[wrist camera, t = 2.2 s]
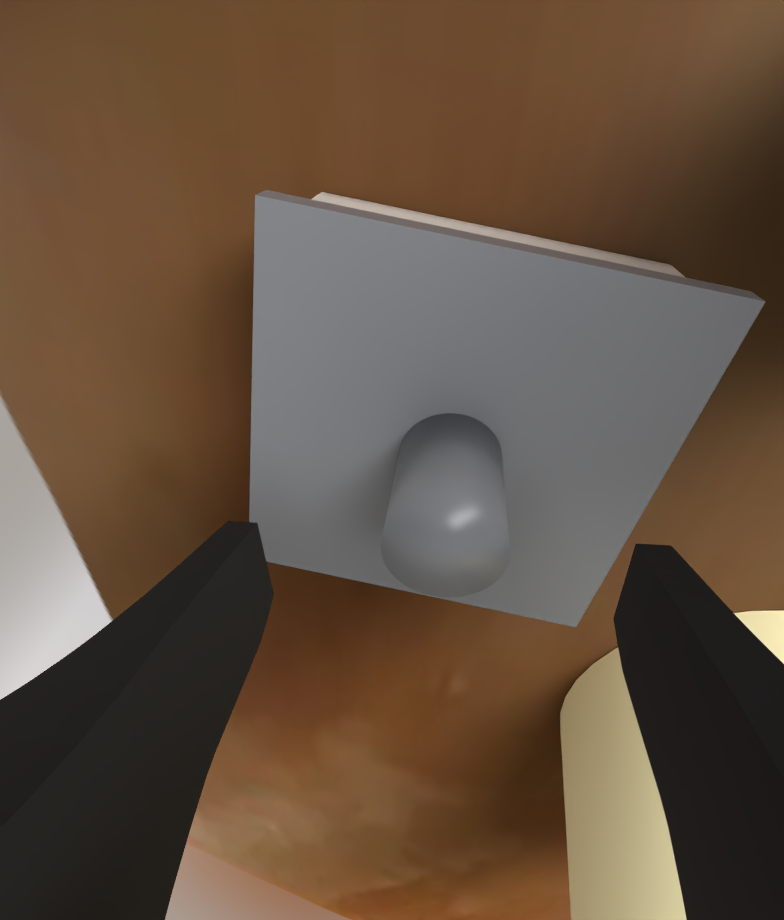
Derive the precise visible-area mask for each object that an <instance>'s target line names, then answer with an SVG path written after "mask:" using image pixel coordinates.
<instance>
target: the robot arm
mask: <svg viewBox="0 0 784 920" xmlns="http://www.w3.org/2000/svg"><path fill="white" fill-rule="evenodd" d="M273 594H274V593H273V589H272V585H271V580H270V576H269V571H268V567H267V563H266V558H265V554H264V549H263V545H262V541H261V536H260V532H259V527H258V523H253V522H235V521H228V522H227V523H226V524H224V525H223V526H222V527H221V528H220V529H219V530H217V531H216V532H215V533H214V534H213V535H212V536H211V537H210V538H209V539H207V540H206V541H205V542H204V543H203V544H202V545H201V546H200V547H199V548H197V549H196V550H195V551H194V552H193V553H192V554H191V555H190V556H189V557H187V558H186V559H185V560H184V561H183V562H182V563H181V564H180V565H178V566H177V567H176V568H175V569H174V570H173V571H172V572H171V573H169V574H168V575H167V576H166V577H165V578H164V579H162V580H161V581H160V582H159V583H158V584H157V585H156V586H154V587H153V588H152V589H151V590H150V591H149V592H148V593H146V594H145V595H144V596H143V597H142V598H140V599H139V600H138V601H137V602H135V603H134V604H133V605H132V606H130V607H129V608H128V609H127V610H125V611H124V612H123V613H122V614H120V615H119V616H118V617H117V618H116V619H114V620H113V621H112V622H111V623H109V624H108V625H107V626H106V627H104V628H103V629H102V630H101V631H99V632H98V633H97V634H96V635H94V636H93V637H92V638H90V639H89V640H88V641H87V642H85V643H84V644H82V645H81V646H80V647H78V648H77V649H75V650H74V651H73V652H71V653H70V654H69V655H67V656H66V657H64V658H63V659H61V660H60V661H59V662H57V663H56V664H54V665H53V666H51V667H50V668H48V669H47V670H46V671H44V672H43V673H41V674H40V675H38V676H37V677H35V678H34V679H33V680H31V681H30V682H28V683H26V684H25V685H23V686H22V687H20V688H19V689H17V690H15V691H14V692H12V693H11V694H9V695H7V696H6V697H4V698H3V699H1V700H0V920H165V916H166V913H167V909H168V905H169V901H170V897H171V894H172V890H173V887H174V883H175V880H176V876H177V872H178V869H179V865H180V862H181V859H182V855H183V852H184V848H185V845H186V842H187V838H188V835H189V831H190V828H191V825H192V821H193V818H194V815H195V812H196V808H197V805H198V802H199V799H200V796H201V792H202V789H203V786H204V783H205V779H206V776H207V773H208V771H209V768H210V765H211V762H212V760H213V757H214V754H215V752H216V749H217V747H218V744H219V742H220V739H221V737H222V734H223V732H224V730H225V727H226V725H227V722H228V720H229V718H230V715H231V713H232V710H233V708H234V706H235V703H236V701H237V698H238V696H239V694H240V691H241V689H242V686H243V684H244V681H245V679H246V677H247V674H248V672H249V669H250V667H251V664H252V662H253V659H254V657H255V654H256V652H257V649H258V647H259V644H260V642H261V639H262V635H263V632H264V628H265V625H266V621H267V618H268V614H269V610H270V606H271V602H272V598H273ZM614 624H615V630H616V637H617V643H618V649H619V654H620V660H621V665H622V671H623V674H624V678H625V681H626V685H627V688H628V692H629V695H630V698H631V702H632V705H633V709H634V712H635V715H636V719H637V722H638V725H639V728H640V732H641V735H642V738H643V742H644V745H645V748H646V752H647V755H648V758H649V761H650V765H651V768H652V771H653V775H654V778H655V781H656V785H657V788H658V791H659V794H660V798H661V802H662V806H663V809H664V813H665V817H666V821H667V825H668V829H669V834H670V838H671V843H672V848H673V853H674V858H675V863H676V868H677V873H678V877H679V882H680V887H681V892H682V897H683V903H684V908H685V914H686V919H687V920H784V664H783V663H782V662H781V661H780V660H779V659H778V658H777V657H776V656H775V655H774V654H773V653H772V652H771V651H770V650H769V649H768V648H767V647H766V646H765V645H764V644H763V643H762V642H761V641H760V640H759V639H758V638H757V637H756V636H755V635H754V634H753V633H752V632H751V631H750V630H749V629H748V628H747V627H746V626H745V625H744V623H743V622H742V621H741V620H740V619H739V618H738V617H737V616H736V615H735V614H734V613H733V612H732V611H731V610H730V609H729V608H728V607H727V606H726V605H725V604H724V602H723V601H722V600H721V599H720V598H719V597H718V596H717V595H716V594H715V593H714V592H713V591H712V590H711V588H710V587H709V586H708V585H707V584H706V583H705V582H704V581H703V580H702V579H701V578H700V576H699V575H698V574H697V573H696V572H695V571H694V570H693V569H692V568H691V567H690V566H689V564H688V563H687V562H686V561H685V560H684V559H683V558H682V557H681V556H680V555H679V554H678V553H677V552H676V550H675V549H674V548H673V547H672V546H668V545H650V544H636V545H635V548H634V551H633V555H632V558H631V562H630V565H629V568H628V572H627V575H626V578H625V582H624V585H623V588H622V592H621V595H620V598H619V602H618V605H617V609H616V612H615V615H614Z"/></svg>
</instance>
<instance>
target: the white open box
mask: <svg viewBox="0 0 784 920" xmlns="http://www.w3.org/2000/svg"><path fill="white" fill-rule="evenodd" d="M312 200H317V201H322V202H326V203H331V204H336V205H341V206H346V207H350V208H355V209H360V210H365V211H369V212H374V213H379V214H384V215H389V216H393V217H398V218H403V219H408V220H413V221H417V222H422V223H427V224H432V225H437V226H441V227H446V228H451V229H456V230H461V231H465V232H470V233H475V234H480V235H485V236H489V237H494V238H499V239H504V240H508V241H513V242H518V243H523V244H528V245H532V246H537V247H542V248H547V249H552V250H556V251H561V252H566V253H571V254H576V255H580V256H585V257H590V258H595V259H600V260H604V261H609V262H614V263H619V264H623V265H628V266H633V267H638V268H643V269H647V270H652V271H657V272H662V273H667V274H671V275H676V276H681V277H685V276H683V275H682V274H681V273H680V272H679V271H678V270H676V269H675V268H674V267H673V266H672V265H670V264H665V263H660V262H656V261H651V260H646V259H641V258H637V257H632V256H627V255H622V254H617V253H613V252H608V251H603V250H598V249H593V248H589V247H584V246H579V245H574V244H569V243H565V242H560V241H555V240H550V239H545V238H541V237H536V236H531V235H526V234H521V233H517V232H512V231H507V230H502V229H497V228H493V227H488V226H483V225H478V224H473V223H469V222H464V221H459V220H454V219H450V218H445V217H440V216H435V215H430V214H426V213H421V212H416V211H411V210H406V209H402V208H397V207H392V206H387V205H382V204H378V203H373V202H368V201H363V200H358V199H354V198H349V197H344V196H339V195H334V194H330V193H325V192H321V193H320V194H318V195H317V196H315V197H314V198H312Z"/></svg>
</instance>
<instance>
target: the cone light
mask: <svg viewBox="0 0 784 920" xmlns="http://www.w3.org/2000/svg"><path fill="white" fill-rule="evenodd" d="M734 614H735V615H736V616H737V617H738V618H739V619H740V620H741V621H742V622H743V623H744V625H745V626H746V627H747V628H748V629H749V630H750V631H751V632H752V633H753V634H754V635H755V636H756V637H757V638H758V639H759V640H760V641H761V642H762V643H763V644H764V645H765V646H766V647H767V648H768V649H769V650H770V651H771V652H772V653H773V654H774V655H775V656H776V657H777V658H778V659H779V660H780V661H781V662H782V663H783V664H784V610H781V611H747V612H739V613H734ZM560 731H561V749H562V766H563V784H564V801H565V819H566V836H567V853H568V871H569V888H570V906H571V920H687V919H686V914H685V908H684V903H683V897H682V892H681V887H680V882H679V877H678V873H677V868H676V863H675V858H674V853H673V848H672V843H671V838H670V834H669V829H668V825H667V821H666V817H665V813H664V809H663V806H662V802H661V798H660V794H659V791H658V788H657V785H656V781H655V778H654V775H653V771H652V768H651V765H650V761H649V758H648V755H647V752H646V748H645V745H644V742H643V738H642V735H641V732H640V728H639V725H638V722H637V719H636V715H635V712H634V709H633V705H632V702H631V698H630V695H629V692H628V688H627V685H626V681H625V678H624V674H623V671H622V665H621V660H620V654H619V649H618V648H616V649H614V650H613V651H611V652H610V653H608V654H607V655H605V656H604V657H602V658H601V659H599V660H598V661H596V662H595V663H593V664H592V665H591V666H590V667H589V668H588V669H587V670H586V671H585V672H584V673H583V674H582V675H581V676H580V677H579V678H578V679H577V680H576V681H575V683H574V684H573V686H572V687H571V689H570V690H569V692H568V693H567V695H566V696H565V699H564V703H563V706H562V709H561V712H560Z"/></svg>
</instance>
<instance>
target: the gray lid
mask: <svg viewBox="0 0 784 920" xmlns="http://www.w3.org/2000/svg"><path fill="white" fill-rule="evenodd" d="M765 302H766V301H764V300H763V299H761V298H760V297H758V296H757V295H756V294H754V293H753V292H751V291H748V290H743V289H738V288H734V287H729V286H724V285H719V284H715V283H710V282H705V281H700V280H695V279H691V278H686V277H681V276H676V275H671V274H667V273H662V272H657V271H652V270H647V269H643V268H638V267H633V266H628V265H623V264H619V263H614V262H609V261H604V260H600V259H595V258H590V257H585V256H580V255H576V254H571V253H566V252H561V251H556V250H552V249H547V248H542V247H537V246H532V245H528V244H523V243H518V242H513V241H508V240H504V239H499V238H494V237H489V236H485V235H480V234H475V233H470V232H465V231H461V230H456V229H451V228H446V227H441V226H437V225H432V224H427V223H422V222H417V221H413V220H408V219H403V218H398V217H393V216H389V215H384V214H379V213H374V212H369V211H365V210H360V209H355V208H350V207H346V206H341V205H336V204H331V203H326V202H322V201H317V200H312V199H307V198H302V197H298V196H293V195H288V194H283V193H278V192H274V191H269V190H265V191H263V192H261V193H258V194H256V195H255V235H254V289H253V343H252V397H251V452H250V506H249V522H253V523H258V527H259V532H260V536H261V541H262V545H263V549H264V554H265V558H266V562H271V563H276V564H280V565H285V566H290V567H295V568H299V569H304V570H309V571H313V572H318V573H323V574H327V575H332V576H337V577H342V578H346V579H351V580H356V581H360V582H365V583H370V584H374V585H379V586H384V587H389V588H393V589H398V590H403V591H407V592H412V593H417V594H422V595H426V596H431V597H436V598H440V599H445V600H450V601H454V602H459V603H464V604H469V605H473V606H478V607H483V608H487V609H492V610H497V611H501V612H506V613H511V614H516V615H520V616H525V617H530V618H534V619H539V620H544V621H549V622H553V623H558V624H563V625H567V626H572V627H576V626H577V625H578V623H579V621H580V620H581V618H582V616H583V614H584V613H585V611H586V609H587V608H588V606H589V604H590V602H591V601H592V599H593V597H594V595H595V594H596V592H597V590H598V589H599V587H600V585H601V583H602V582H603V580H604V578H605V577H606V575H607V573H608V571H609V570H610V568H611V566H612V565H613V563H614V561H615V559H616V558H617V556H618V554H619V553H620V551H621V549H622V547H623V546H624V544H625V542H626V541H627V539H628V537H629V535H630V534H631V532H632V530H633V528H634V527H635V525H636V523H637V522H638V520H639V518H640V516H641V515H642V513H643V511H644V510H645V508H646V506H647V504H648V503H649V501H650V499H651V498H652V496H653V494H654V492H655V491H656V489H657V487H658V486H659V484H660V482H661V480H662V479H663V477H664V475H665V474H666V472H667V470H668V468H669V467H670V465H671V463H672V462H673V460H674V458H675V456H676V455H677V453H678V451H679V449H680V448H681V446H682V444H683V443H684V441H685V439H686V437H687V436H688V434H689V432H690V431H691V429H692V427H693V425H694V424H695V422H696V420H697V419H698V417H699V415H700V413H701V412H702V410H703V408H704V407H705V405H706V403H707V401H708V400H709V398H710V396H711V395H712V393H713V391H714V389H715V388H716V386H717V384H718V382H719V381H720V379H721V377H722V376H723V374H724V372H725V370H726V369H727V367H728V365H729V364H730V362H731V360H732V358H733V357H734V355H735V353H736V352H737V350H738V348H739V346H740V345H741V343H742V341H743V340H744V338H745V336H746V334H747V333H748V331H749V329H750V328H751V326H752V324H753V322H754V321H755V319H756V317H757V315H758V314H759V312H760V310H761V309H762V307H763V305H764V303H765Z"/></svg>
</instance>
